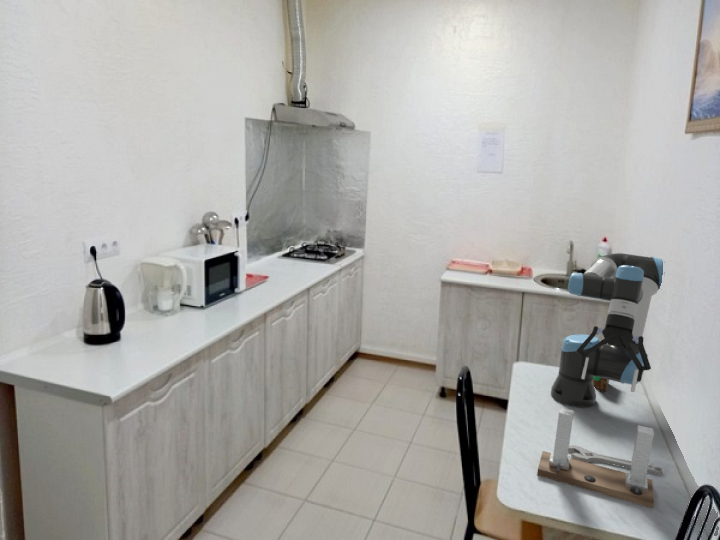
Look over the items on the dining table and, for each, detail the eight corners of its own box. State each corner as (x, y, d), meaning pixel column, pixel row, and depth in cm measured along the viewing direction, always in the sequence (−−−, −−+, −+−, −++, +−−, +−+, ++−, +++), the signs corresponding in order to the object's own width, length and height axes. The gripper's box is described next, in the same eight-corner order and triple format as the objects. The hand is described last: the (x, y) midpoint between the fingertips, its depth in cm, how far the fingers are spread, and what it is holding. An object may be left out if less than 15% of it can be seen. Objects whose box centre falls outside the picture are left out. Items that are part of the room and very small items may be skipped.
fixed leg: (625, 477, 141) (634, 423, 138) (646, 483, 139) (656, 428, 136) (625, 491, 136) (635, 435, 132) (647, 497, 133) (657, 440, 130)
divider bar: (541, 457, 153) (542, 450, 153) (650, 486, 141) (652, 479, 141) (537, 475, 144) (538, 468, 144) (652, 508, 133) (654, 500, 132)
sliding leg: (550, 456, 149) (557, 405, 146) (569, 461, 147) (577, 410, 144) (548, 468, 143) (555, 416, 140) (567, 474, 141) (575, 421, 138)
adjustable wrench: (662, 472, 149) (663, 466, 148) (664, 485, 143) (665, 479, 143) (567, 448, 159) (568, 443, 158) (566, 459, 153) (567, 453, 153)
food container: (591, 378, 209) (595, 354, 207) (608, 382, 206) (612, 358, 204) (587, 389, 199) (590, 364, 196) (605, 394, 196) (608, 368, 193)
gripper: (578, 305, 161) (563, 373, 158) (670, 324, 152) (656, 397, 149) (577, 308, 168) (562, 374, 165) (665, 327, 158) (651, 397, 156)
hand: (607, 385), depth 157 cm, fingers open, 13 cm apart
